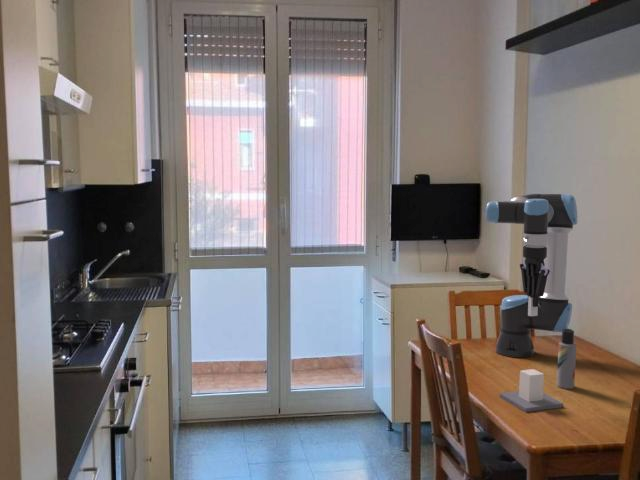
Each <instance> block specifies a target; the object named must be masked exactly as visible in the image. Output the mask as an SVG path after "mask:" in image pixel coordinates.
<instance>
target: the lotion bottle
mask: <svg viewBox="0 0 640 480" xmlns="http://www.w3.org/2000/svg"><path fill="white" fill-rule="evenodd" d="M574 338H575V330H573V329H571V328H567V329H564V330H562V332H561V341H560V342H558V346H557V347H558V352H557V354H558V355H557V369H556V370H557V372H556V386H557V387H558V388H560V389H565V390H572V389H574V388H575V384H576V383H575V382H576V381H575V380H576V362H577V361H576V360H577V344H576V343H574V342H575V339H574Z"/></svg>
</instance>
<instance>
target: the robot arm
mask: <svg viewBox="0 0 640 480" xmlns="http://www.w3.org/2000/svg"><path fill="white" fill-rule="evenodd" d="M577 207H578V206H577V201H576V199H575V196H573V195H572V194H563V193H557V194H555V193H530V194H525V195H521V196H516V197H513V198H512V199H511V200H506V201H497V200H495V201H489V202H488V203H486V208H485V220H486V221H487V222H488V223H491V224H492V223H493V224H516V225H523V245H524V246H523V247H522V257H523V258H525V259H524V263H520V264H519V268H520V272H521V279H522V289H523V293H524V294H515V295H509V296H506V297H504V298H502V300H501V307H500V332H499V335H498V338H497V340H496V341H497V342H496V343H495V347H494V349H495V353H497V354H498V355H501V356H506V357H509V358H528V357H529V358H530V357H532V356H534V355H535V347H534V343H533V340H532V337H531V330H536V331H537V330H538V331H546V332H552V333H562V330H564V329H569V326H570V321H571V317H572V310H573V304H572V303H571V302H569V297H568V296H567V295H566V280H567V279H566V276H567V259H568V244H569V242H568V241H569V233H570V232H571V231H572V230H573V228H574V226H575V225H577V224H578V208H577Z"/></svg>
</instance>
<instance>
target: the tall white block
mask: <svg viewBox="0 0 640 480" xmlns="http://www.w3.org/2000/svg"><path fill="white" fill-rule="evenodd" d="M544 374H545V373H542V372H540V371H538V370H536V369H535V368H533V369H531V368H530V369H522V370H520V371H519V384H518V385H519V389H518V391H519V397H521V398H523V399H525V400H526V401H528V402H532V401H540V400H543V393H544V382H545V381H544V380H545V379H544V378H545V377H544V376H545V375H544Z"/></svg>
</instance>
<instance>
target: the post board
mask: <svg viewBox="0 0 640 480" xmlns="http://www.w3.org/2000/svg"><path fill="white" fill-rule="evenodd" d="M499 398H501V399H503V400H504V401H506V402H507V403H509V404H511V405H512V406H515V408H518V409H519V410H521V411H523V412H524V413H527V412H536V411H544V410H551V409H552V410H553V409H559V408H564V402H561V401H560V400H558V399H556V398H554V397H552V396H550V395H548V394H546V393H544V392H543V400H540V401H532V402H528V401H526V400H525V399H523V398H521V397H519V390H517V391H508V392H499Z"/></svg>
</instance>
